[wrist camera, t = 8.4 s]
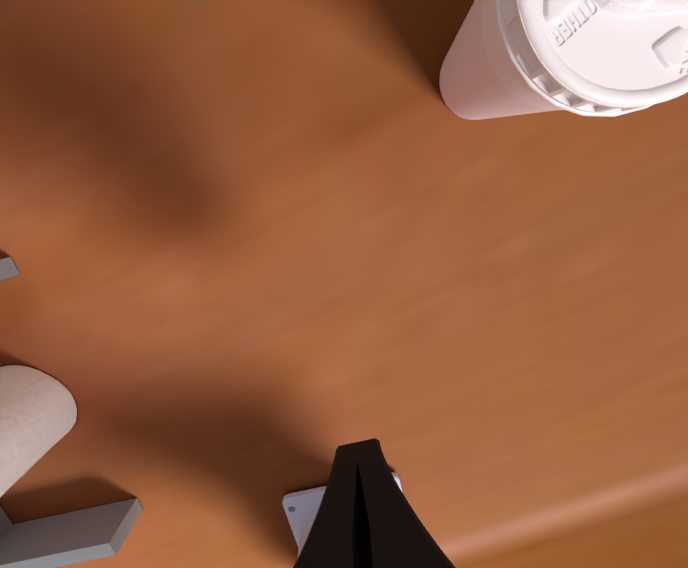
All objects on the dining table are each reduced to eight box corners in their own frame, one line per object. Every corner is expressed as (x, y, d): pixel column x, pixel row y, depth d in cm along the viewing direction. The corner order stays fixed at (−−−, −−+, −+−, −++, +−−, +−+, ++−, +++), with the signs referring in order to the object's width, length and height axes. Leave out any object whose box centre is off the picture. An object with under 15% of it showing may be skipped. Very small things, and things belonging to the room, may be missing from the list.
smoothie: (451, -29, 15) (1363, -1669, 2) (569, 38, 16) (1772, -695, 3) (389, 115, 17) (615, -157, 3) (500, 170, 18) (1032, 128, 4)
